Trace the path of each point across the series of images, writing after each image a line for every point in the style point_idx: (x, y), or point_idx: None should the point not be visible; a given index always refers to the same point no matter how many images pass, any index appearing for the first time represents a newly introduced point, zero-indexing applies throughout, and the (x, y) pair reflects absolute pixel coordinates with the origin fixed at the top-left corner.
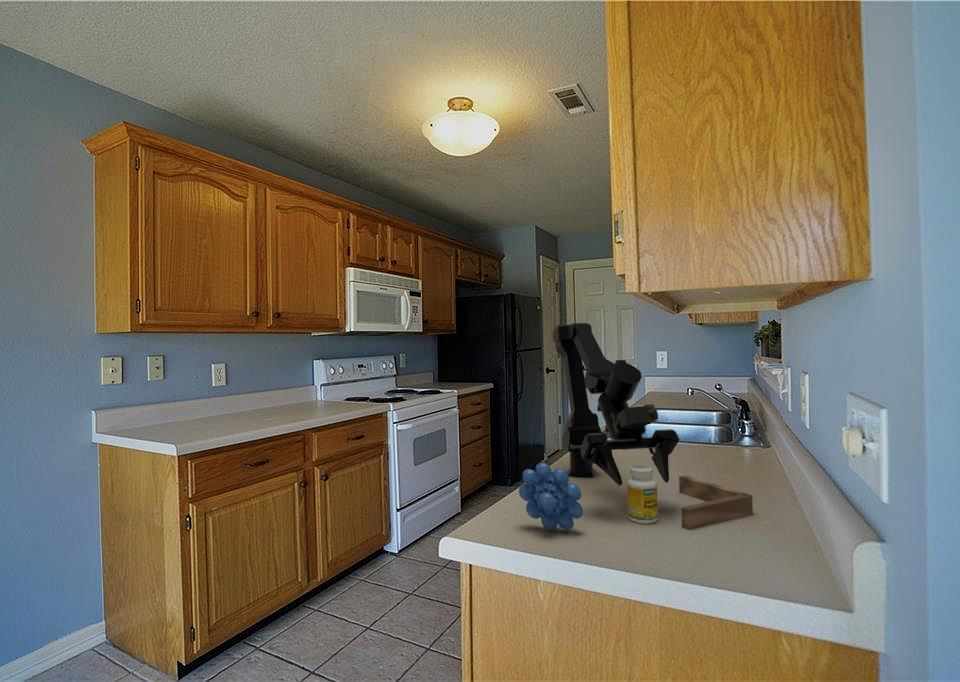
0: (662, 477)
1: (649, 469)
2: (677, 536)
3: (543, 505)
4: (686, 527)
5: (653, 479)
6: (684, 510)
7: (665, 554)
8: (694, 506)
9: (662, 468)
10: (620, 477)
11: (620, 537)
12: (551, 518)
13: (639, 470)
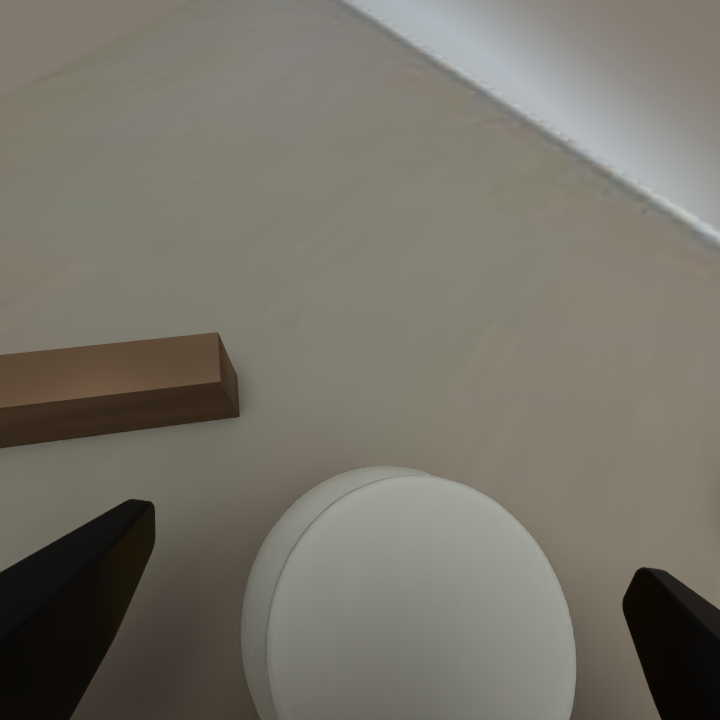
0: (121, 613)
1: (354, 524)
2: (337, 337)
3: None
4: (236, 388)
5: (277, 566)
6: (221, 364)
7: (478, 235)
8: (135, 366)
9: (53, 641)
10: (690, 603)
11: (576, 409)
12: None
13: (505, 529)
